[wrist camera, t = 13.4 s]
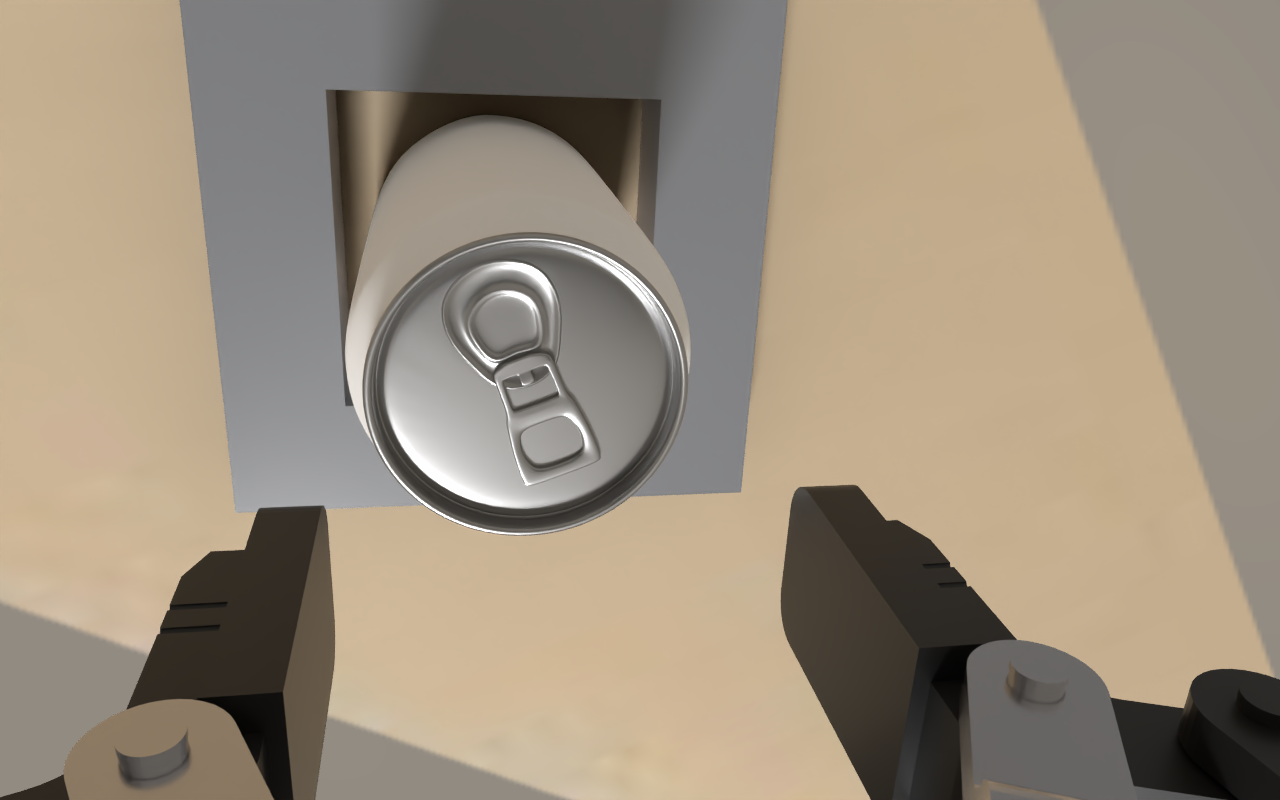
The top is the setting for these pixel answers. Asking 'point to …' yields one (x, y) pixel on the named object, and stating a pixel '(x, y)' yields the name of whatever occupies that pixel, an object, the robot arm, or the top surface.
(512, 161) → the can
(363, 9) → the socket plate
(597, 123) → the top surface
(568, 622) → the top surface
